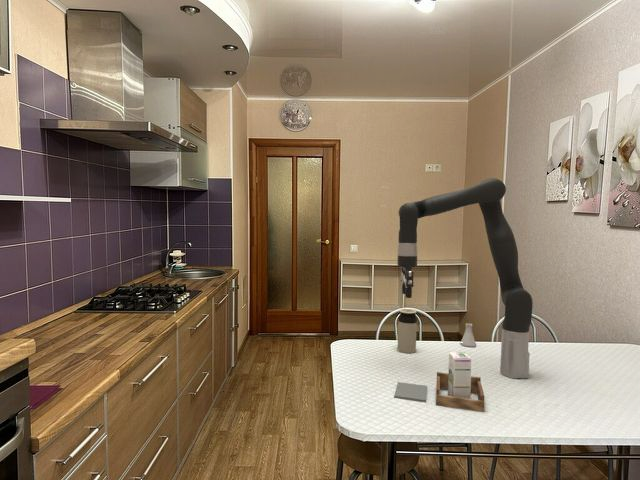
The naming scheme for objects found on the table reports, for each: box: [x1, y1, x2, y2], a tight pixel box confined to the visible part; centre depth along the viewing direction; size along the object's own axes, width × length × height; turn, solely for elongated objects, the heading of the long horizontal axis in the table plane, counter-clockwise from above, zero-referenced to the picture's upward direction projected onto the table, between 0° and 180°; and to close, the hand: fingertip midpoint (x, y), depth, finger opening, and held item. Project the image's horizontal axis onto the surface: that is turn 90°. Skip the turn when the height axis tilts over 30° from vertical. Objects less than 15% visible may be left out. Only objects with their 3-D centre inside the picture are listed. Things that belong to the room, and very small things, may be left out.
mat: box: [393, 381, 428, 403], centre depth 135 cm, size 10×12×1 cm
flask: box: [459, 322, 477, 348], centre depth 190 cm, size 7×7×10 cm
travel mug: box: [396, 308, 418, 354], centre depth 179 cm, size 8×8×18 cm
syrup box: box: [447, 351, 472, 399], centre depth 130 cm, size 6×6×14 cm
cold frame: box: [435, 371, 485, 413], centre depth 130 cm, size 14×14×6 cm
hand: (406, 295), depth 158 cm, fingers open, 8 cm apart
